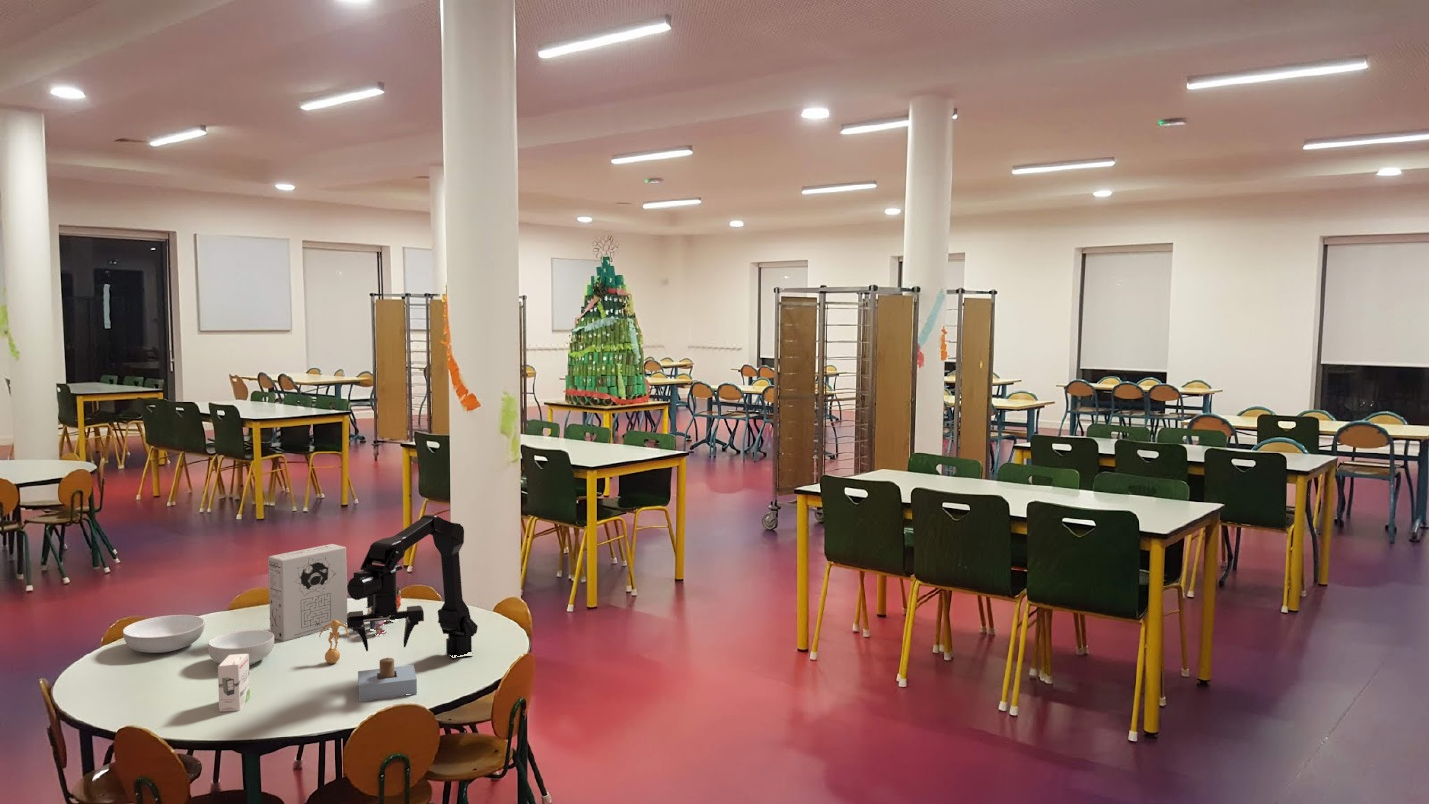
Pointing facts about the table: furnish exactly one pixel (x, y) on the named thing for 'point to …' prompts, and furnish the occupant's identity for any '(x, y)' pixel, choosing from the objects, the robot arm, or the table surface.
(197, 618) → the serving bowl
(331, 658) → the figurine
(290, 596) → the cereal box
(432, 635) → the table surface
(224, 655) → the cereal bowl
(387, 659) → the peg
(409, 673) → the socket block
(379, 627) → the doll family
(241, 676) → the ink box
